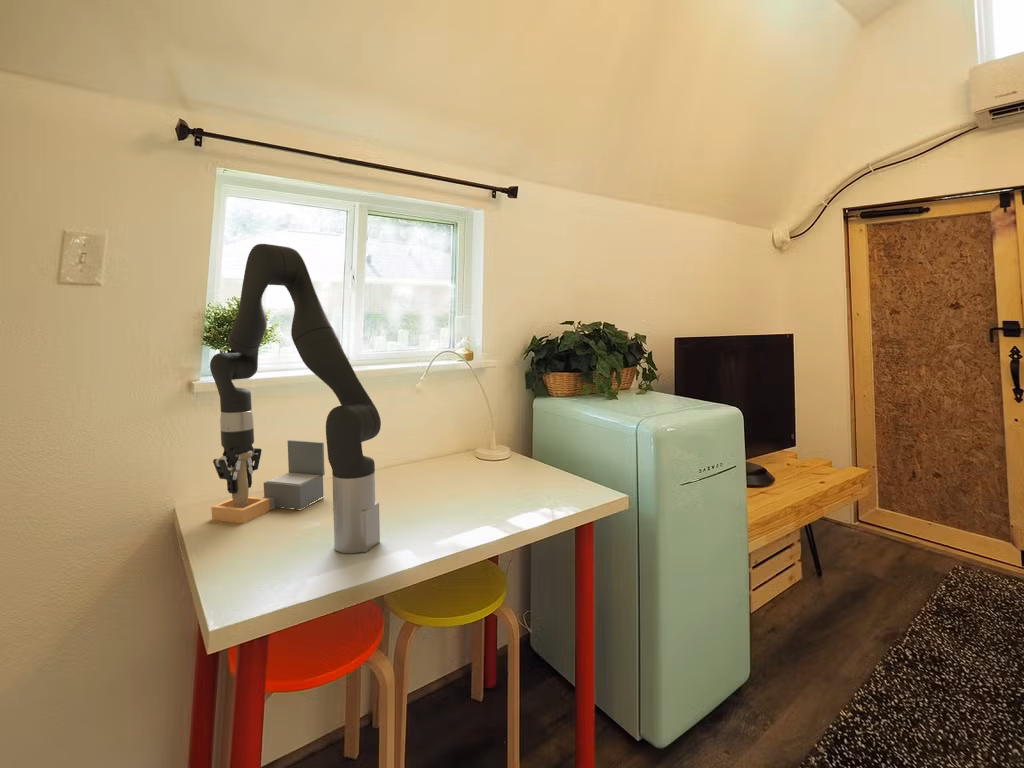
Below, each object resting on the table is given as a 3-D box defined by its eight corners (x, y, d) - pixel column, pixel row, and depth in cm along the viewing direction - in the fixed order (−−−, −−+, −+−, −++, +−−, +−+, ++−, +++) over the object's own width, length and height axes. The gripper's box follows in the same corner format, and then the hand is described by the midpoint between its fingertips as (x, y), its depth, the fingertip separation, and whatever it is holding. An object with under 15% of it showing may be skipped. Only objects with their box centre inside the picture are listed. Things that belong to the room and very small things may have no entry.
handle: (251, 509, 120) (249, 454, 118) (224, 511, 118) (221, 455, 117) (256, 502, 124) (254, 449, 123) (230, 504, 123) (227, 451, 121)
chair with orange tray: (325, 497, 136) (323, 442, 134) (269, 526, 114) (266, 461, 113) (275, 492, 140) (272, 438, 138) (212, 519, 118) (208, 456, 117)
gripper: (226, 433, 111) (229, 500, 113) (269, 423, 125) (271, 483, 127) (201, 432, 113) (205, 497, 115) (247, 422, 127) (249, 481, 129)
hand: (240, 489), depth 121 cm, fingers closed on handle, 4 cm apart
